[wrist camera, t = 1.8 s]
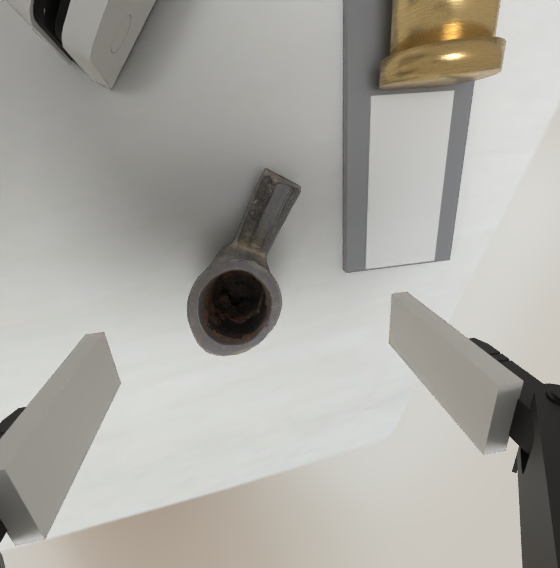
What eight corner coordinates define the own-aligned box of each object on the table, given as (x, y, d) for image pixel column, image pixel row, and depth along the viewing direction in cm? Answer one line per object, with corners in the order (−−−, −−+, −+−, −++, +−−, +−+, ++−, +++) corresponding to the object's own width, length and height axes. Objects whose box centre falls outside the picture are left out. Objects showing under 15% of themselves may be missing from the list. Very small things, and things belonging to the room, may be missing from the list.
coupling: (365, -36, 21) (427, -120, 15) (466, -37, 22) (567, -119, 15) (363, 93, 24) (413, 70, 18) (451, 87, 25) (532, 63, 18)
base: (343, -42, 21) (350, -52, 20) (482, -44, 22) (495, -54, 21) (343, 269, 30) (347, 273, 29) (443, 256, 31) (451, 260, 30)
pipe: (308, 189, 27) (338, 203, 19) (247, 317, 30) (253, 369, 23) (240, 155, 25) (245, 156, 18) (184, 295, 29) (169, 344, 21)
